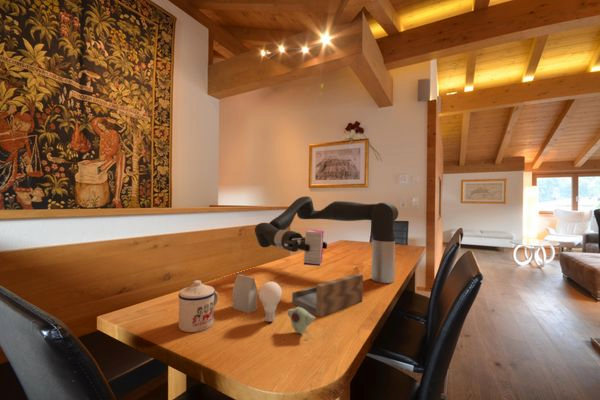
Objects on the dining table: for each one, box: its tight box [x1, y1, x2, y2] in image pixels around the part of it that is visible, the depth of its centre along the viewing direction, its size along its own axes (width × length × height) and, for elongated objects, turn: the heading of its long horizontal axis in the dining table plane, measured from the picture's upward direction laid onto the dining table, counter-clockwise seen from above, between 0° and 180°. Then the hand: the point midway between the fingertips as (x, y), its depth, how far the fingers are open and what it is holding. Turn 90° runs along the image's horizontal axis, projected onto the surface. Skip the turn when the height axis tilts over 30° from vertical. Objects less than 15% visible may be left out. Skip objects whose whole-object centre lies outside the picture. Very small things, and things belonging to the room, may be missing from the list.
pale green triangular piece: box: [287, 306, 317, 334], centre depth 69 cm, size 8×4×7 cm, turn 56°
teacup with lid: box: [177, 279, 219, 333], centre depth 73 cm, size 12×9×12 cm
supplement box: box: [303, 229, 324, 267], centre depth 94 cm, size 6×6×12 cm
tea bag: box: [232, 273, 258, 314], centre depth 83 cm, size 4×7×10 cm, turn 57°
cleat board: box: [291, 273, 364, 318], centre depth 90 cm, size 20×13×9 cm, turn 131°
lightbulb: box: [258, 281, 283, 323], centre depth 75 cm, size 6×6×11 cm
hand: (318, 247), depth 93 cm, fingers closed on supplement box, 8 cm apart
